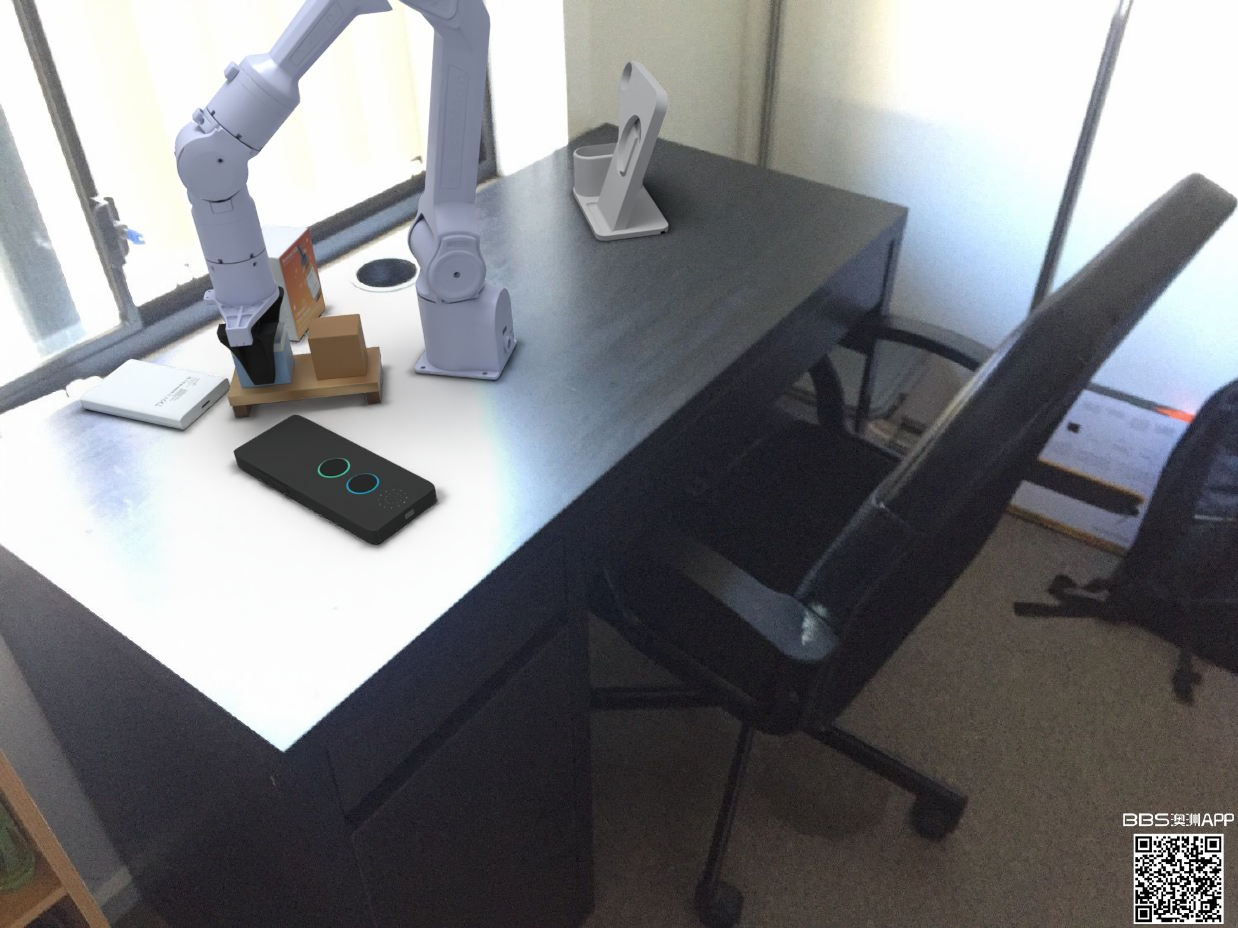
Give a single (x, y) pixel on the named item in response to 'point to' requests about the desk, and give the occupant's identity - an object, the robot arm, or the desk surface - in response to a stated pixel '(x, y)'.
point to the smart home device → (336, 478)
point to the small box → (294, 276)
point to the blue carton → (282, 360)
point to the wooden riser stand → (309, 385)
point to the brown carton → (337, 346)
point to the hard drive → (155, 393)
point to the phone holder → (623, 163)
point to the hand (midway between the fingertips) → (267, 369)
